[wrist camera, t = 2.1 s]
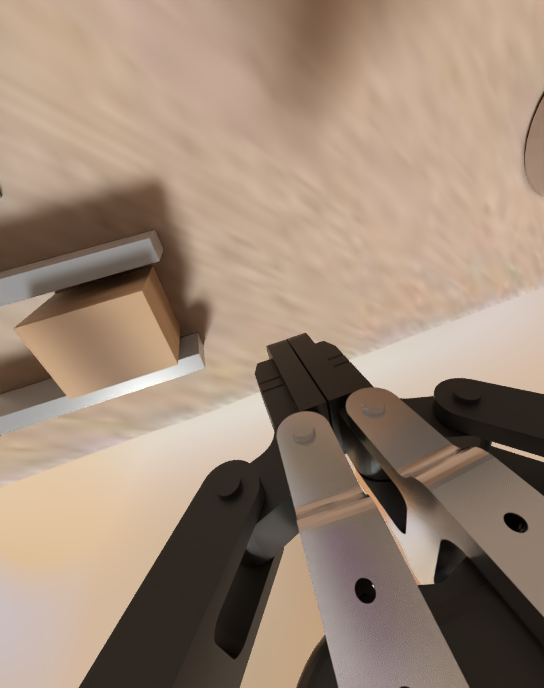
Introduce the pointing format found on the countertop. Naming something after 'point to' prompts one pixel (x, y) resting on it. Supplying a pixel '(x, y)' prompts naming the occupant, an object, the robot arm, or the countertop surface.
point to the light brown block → (104, 333)
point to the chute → (65, 272)
